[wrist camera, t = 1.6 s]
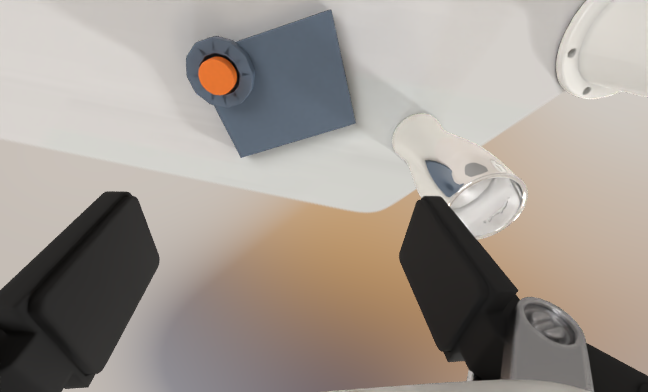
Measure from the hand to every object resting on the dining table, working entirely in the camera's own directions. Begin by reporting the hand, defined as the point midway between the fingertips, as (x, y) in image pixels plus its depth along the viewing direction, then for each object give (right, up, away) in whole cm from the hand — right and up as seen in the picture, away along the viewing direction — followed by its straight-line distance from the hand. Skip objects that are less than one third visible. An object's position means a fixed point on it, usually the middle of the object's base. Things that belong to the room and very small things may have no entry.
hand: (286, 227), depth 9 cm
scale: (-3, +13, +20) cm, 23 cm away
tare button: (-8, +13, +16) cm, 22 cm away
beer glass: (+13, +9, +24) cm, 29 cm away
